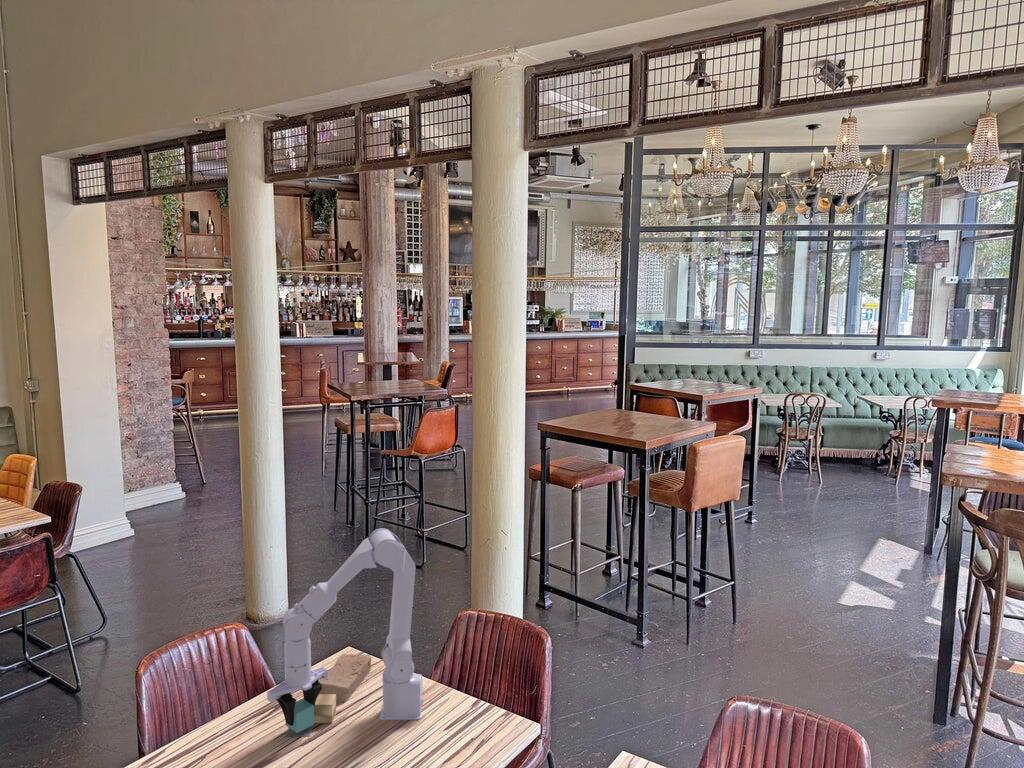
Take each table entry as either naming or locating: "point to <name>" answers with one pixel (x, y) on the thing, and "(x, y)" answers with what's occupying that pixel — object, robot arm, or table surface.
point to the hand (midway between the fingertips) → (299, 719)
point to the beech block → (325, 708)
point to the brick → (346, 676)
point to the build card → (302, 733)
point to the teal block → (302, 716)
